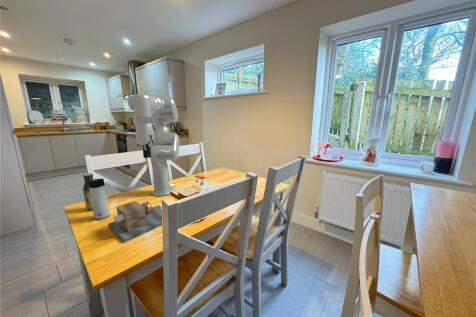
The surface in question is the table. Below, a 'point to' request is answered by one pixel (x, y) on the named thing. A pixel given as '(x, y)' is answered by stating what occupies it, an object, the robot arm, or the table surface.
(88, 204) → the sauce bottle
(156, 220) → the housing
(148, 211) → the shaft
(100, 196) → the travel mug
